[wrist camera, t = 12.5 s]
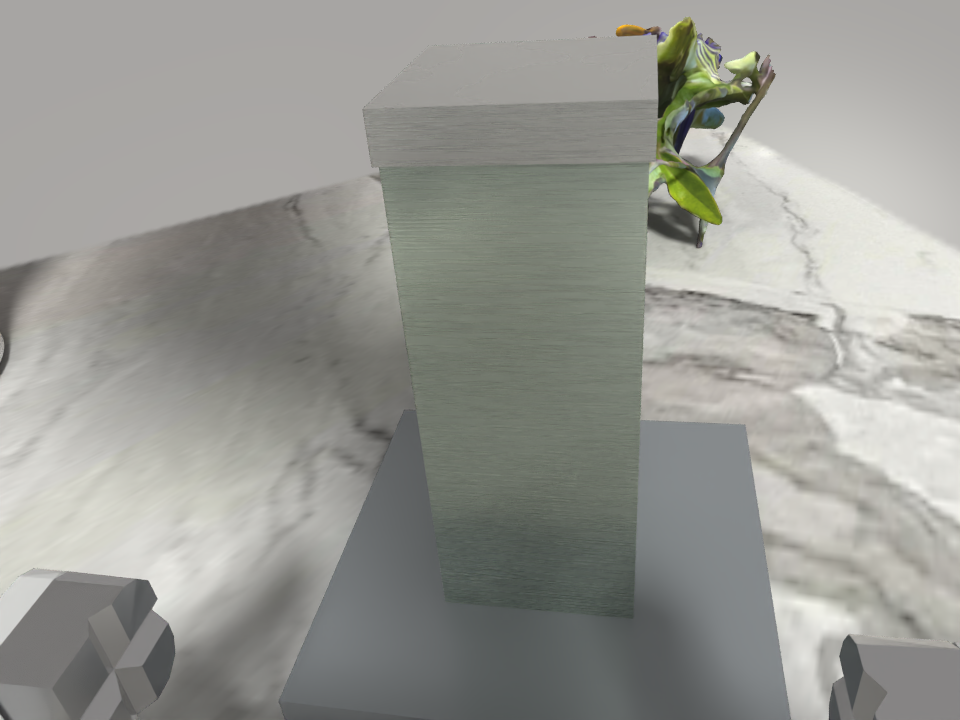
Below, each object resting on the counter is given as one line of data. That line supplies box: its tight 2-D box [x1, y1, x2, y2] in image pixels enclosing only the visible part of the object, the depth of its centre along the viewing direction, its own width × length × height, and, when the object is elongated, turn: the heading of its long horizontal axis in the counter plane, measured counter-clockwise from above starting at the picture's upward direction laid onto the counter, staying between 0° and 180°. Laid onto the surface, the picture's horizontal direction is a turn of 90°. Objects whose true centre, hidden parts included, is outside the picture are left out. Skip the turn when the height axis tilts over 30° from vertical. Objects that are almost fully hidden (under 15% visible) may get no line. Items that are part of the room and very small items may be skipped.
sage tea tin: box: [362, 35, 658, 619], centre depth 18 cm, size 5×5×12 cm
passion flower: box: [588, 17, 776, 248], centre depth 38 cm, size 11×11×12 cm
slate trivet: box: [279, 410, 791, 720], centre depth 22 cm, size 11×11×1 cm
